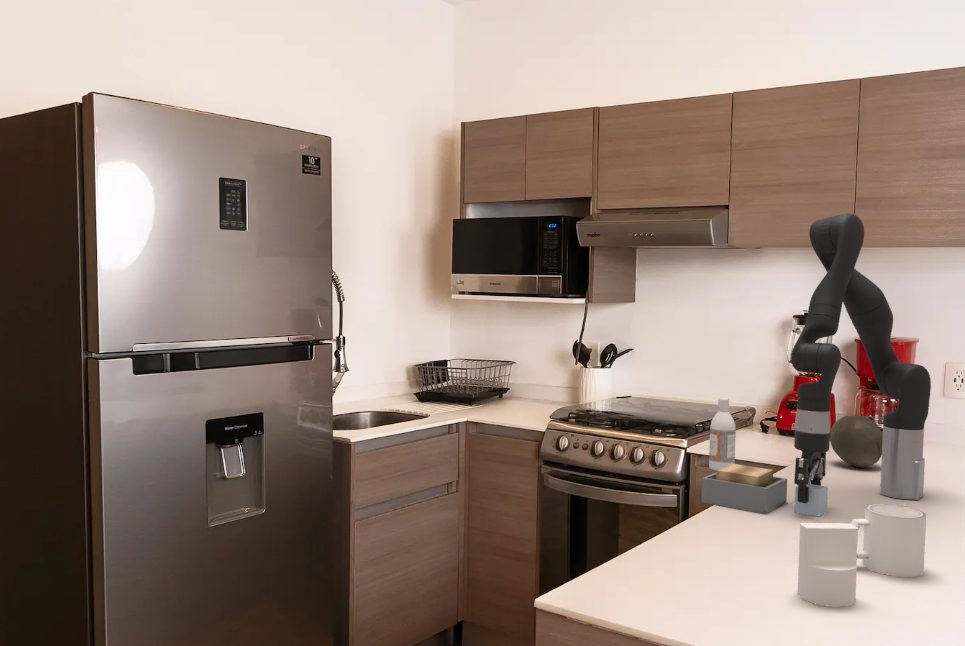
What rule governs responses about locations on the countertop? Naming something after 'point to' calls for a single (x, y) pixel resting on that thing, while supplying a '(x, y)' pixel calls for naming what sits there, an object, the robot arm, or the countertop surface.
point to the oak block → (746, 475)
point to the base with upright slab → (828, 563)
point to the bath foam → (722, 437)
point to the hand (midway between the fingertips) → (809, 499)
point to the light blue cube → (813, 501)
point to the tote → (744, 494)
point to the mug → (893, 540)
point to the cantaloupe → (857, 440)
